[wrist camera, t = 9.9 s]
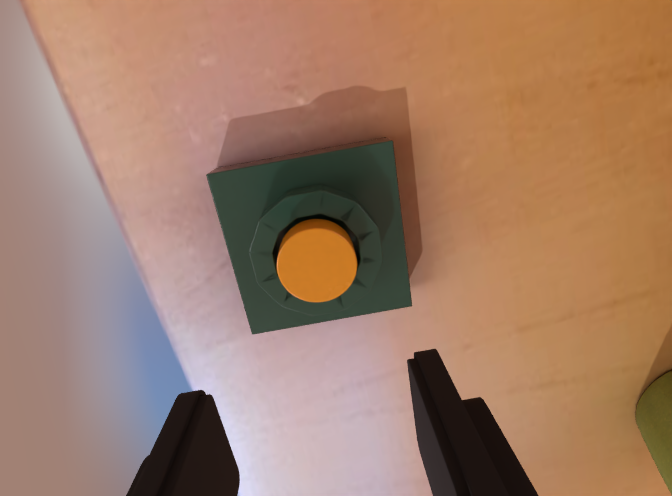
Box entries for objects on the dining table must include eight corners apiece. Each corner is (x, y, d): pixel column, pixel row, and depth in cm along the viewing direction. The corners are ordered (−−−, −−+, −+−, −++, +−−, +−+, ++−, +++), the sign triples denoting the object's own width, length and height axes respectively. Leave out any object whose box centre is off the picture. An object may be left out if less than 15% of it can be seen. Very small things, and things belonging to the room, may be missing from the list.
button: (288, 293, 22) (286, 309, 20) (271, 225, 20) (268, 236, 19) (359, 281, 22) (363, 295, 20) (347, 212, 20) (350, 221, 19)
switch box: (257, 316, 26) (247, 352, 22) (215, 168, 23) (196, 180, 19) (404, 290, 26) (419, 321, 22) (385, 136, 23) (399, 143, 19)
